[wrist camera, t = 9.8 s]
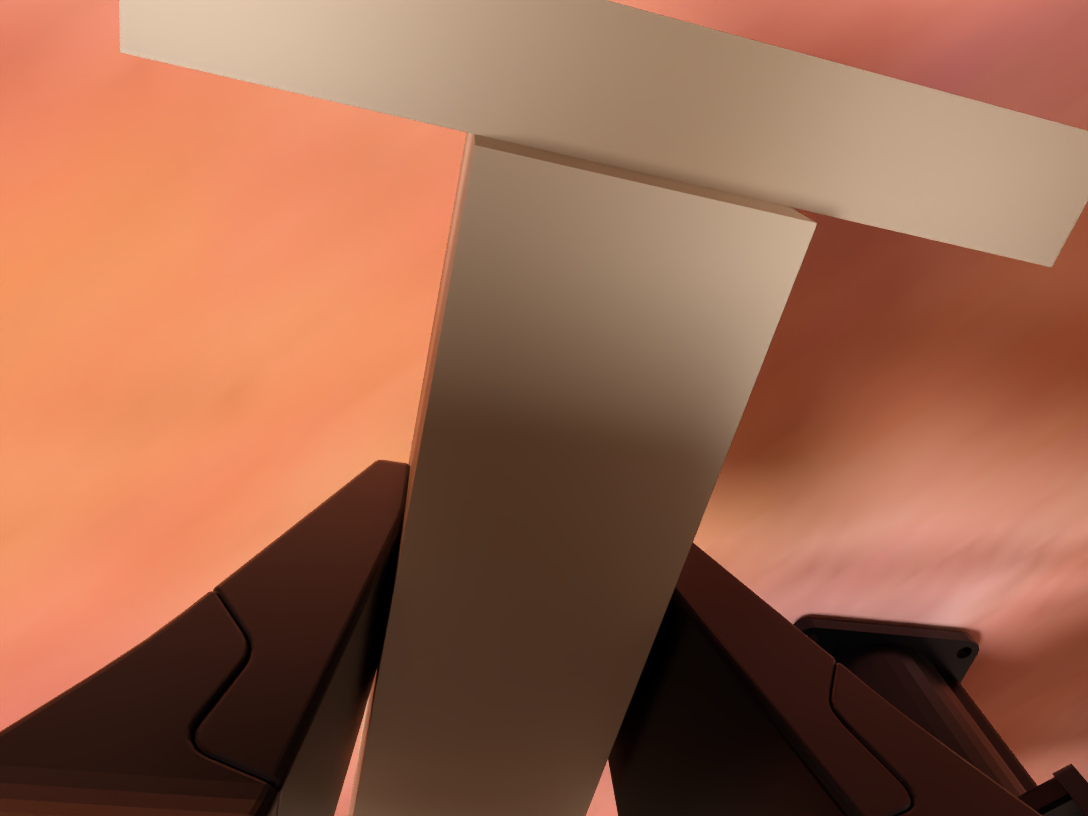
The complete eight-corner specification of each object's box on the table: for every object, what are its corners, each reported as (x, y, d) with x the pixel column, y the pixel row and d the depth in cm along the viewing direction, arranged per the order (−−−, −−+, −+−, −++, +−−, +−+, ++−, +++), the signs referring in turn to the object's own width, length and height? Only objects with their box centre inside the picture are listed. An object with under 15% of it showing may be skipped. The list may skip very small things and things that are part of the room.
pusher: (891, 96, 9) (1175, 148, 5) (629, 742, 13) (685, 1001, 10) (264, -72, 7) (77, -150, 4) (220, 705, 12) (117, 985, 9)
